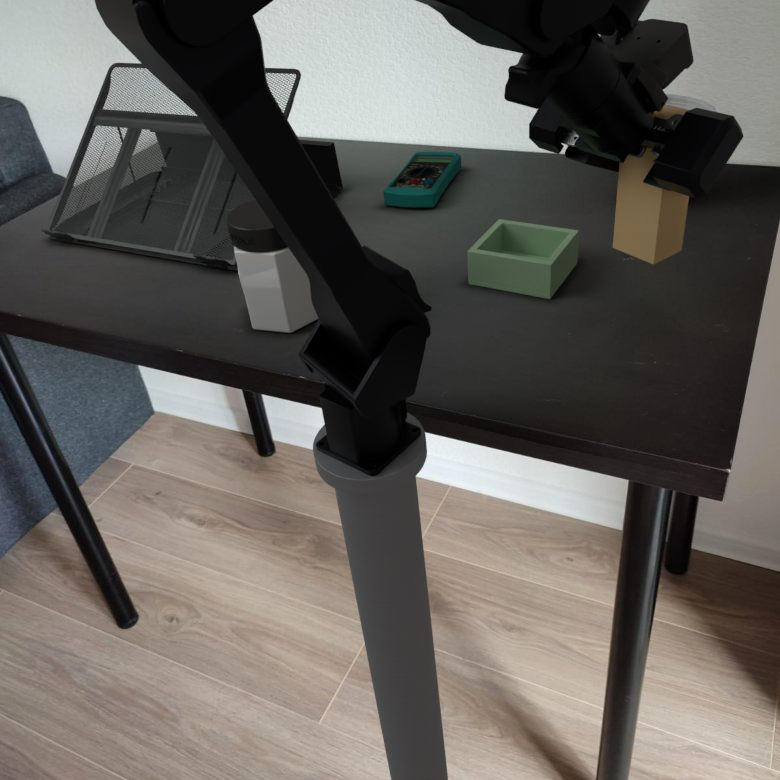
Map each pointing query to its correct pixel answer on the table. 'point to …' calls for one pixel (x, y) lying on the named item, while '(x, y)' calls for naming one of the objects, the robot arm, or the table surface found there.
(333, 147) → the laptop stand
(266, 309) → the jar
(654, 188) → the tan rectangular block
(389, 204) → the digital multimeter
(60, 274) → the table surface
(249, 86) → the robot arm
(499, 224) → the sage green storage bin
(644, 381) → the table surface
